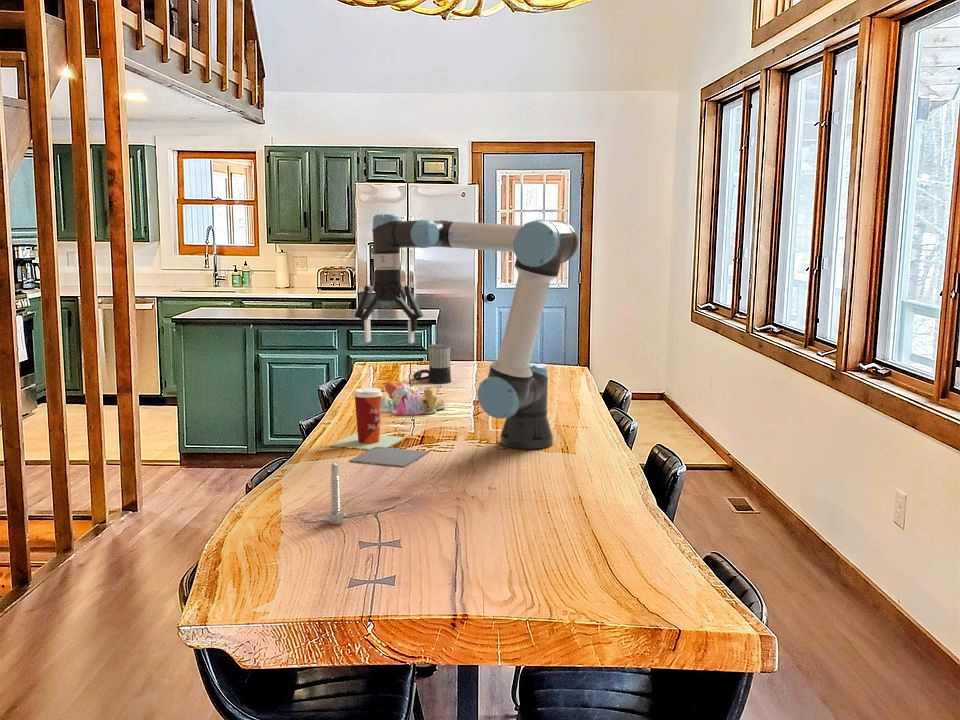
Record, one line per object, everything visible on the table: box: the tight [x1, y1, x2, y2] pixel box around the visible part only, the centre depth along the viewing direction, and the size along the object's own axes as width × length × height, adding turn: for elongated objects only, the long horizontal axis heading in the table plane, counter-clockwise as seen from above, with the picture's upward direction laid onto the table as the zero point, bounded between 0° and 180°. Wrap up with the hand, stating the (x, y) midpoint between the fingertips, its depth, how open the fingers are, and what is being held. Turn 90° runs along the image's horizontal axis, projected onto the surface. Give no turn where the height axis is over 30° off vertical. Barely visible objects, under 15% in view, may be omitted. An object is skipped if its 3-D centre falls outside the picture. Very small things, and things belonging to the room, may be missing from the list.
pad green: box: [329, 432, 406, 451], centre depth 260 cm, size 16×16×1 cm
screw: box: [323, 462, 348, 526], centre depth 189 cm, size 13×5×5 cm
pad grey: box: [348, 447, 430, 468], centre depth 243 cm, size 16×16×1 cm
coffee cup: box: [353, 387, 383, 444], centre depth 258 cm, size 8×8×15 cm
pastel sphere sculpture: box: [381, 380, 446, 416], centre depth 307 cm, size 25×24×9 cm
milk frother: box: [413, 343, 452, 384], centre depth 362 cm, size 14×16×15 cm
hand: (389, 342), depth 261 cm, fingers open, 13 cm apart
